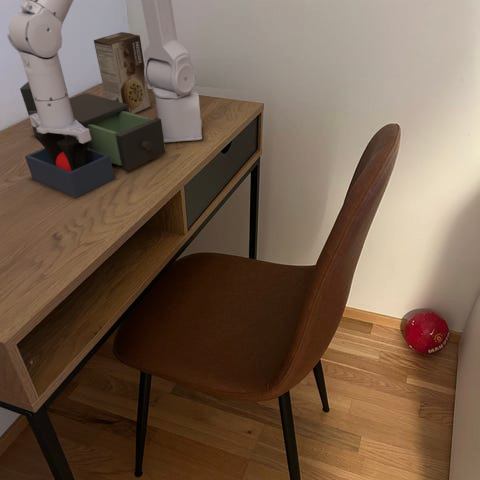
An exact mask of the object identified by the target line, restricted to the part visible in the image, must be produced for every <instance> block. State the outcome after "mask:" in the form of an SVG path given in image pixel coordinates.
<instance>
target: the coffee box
mask: <svg viewBox="0 0 480 480" xmlns="http://www.w3.org/2000/svg"><path fill="white" fill-rule="evenodd" d="M93 43H94V49H95V54H96V59H97V64H98V69H99V73H100V78H101V83H102V87H103V93H104V98H106V99H110V100H113V101H117V102H121V103H125V104H128V106H129V111H130V113H133V114H137V113H139V112H141V111H143V110H146V109H148V108H150V107H151V101H150V100H151V99H150V94H149V85H148V83H147V81H146V79H145V76H144V67H145V59H144V52H143V47H142V41H141V35H139V34H134V33H130V32H126V31H125V32H124V31H120V32H116V33H114V34H113V33H112V34H110V35H106V36H103V37H100V38H96V39H93Z"/></svg>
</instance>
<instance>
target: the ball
mask: <svg viewBox="0 0 480 480" xmlns="http://www.w3.org/2000/svg"><path fill="white" fill-rule="evenodd" d="M56 166H57V167H59V168H62V169H64V170H67V171H69V172H71V171H72V170H71V167H70V165H69V162H68V160H67V157H66V156H65V154H64V152H61V153H60V154H59V155H58V156H57V159H56Z"/></svg>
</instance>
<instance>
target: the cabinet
mask: <svg viewBox="0 0 480 480" xmlns="http://www.w3.org/2000/svg"><path fill="white" fill-rule="evenodd" d="M69 100H70V104H71V108H72V112H73V116H74V119H76V120H77V121H78V122H79V123H80V124H81V125H82V126H83V127H85V128H87V127H86V124H88V123H91V122H94V121H96V120H99V119H101V118H104V117H106V116H109V115H112V114H114V113H117V112H119V111H126V112H129V113H130V111H129V106H128V104H125V103H121V102H117V101H113V100H110V99H106V98H105V97H102V96H98V95H95V94H92V93H87V92H85V93H82V94H79V95H76V96H73V97H69ZM65 139H67V138H66V136H65ZM87 148H89V149H92V148H91V144H90V141H89V144H88V147H87Z"/></svg>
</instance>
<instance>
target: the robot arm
mask: <svg viewBox="0 0 480 480" xmlns="http://www.w3.org/2000/svg"><path fill="white" fill-rule="evenodd" d="M140 2H141V6H142V12H143V16H144V17H143V18H144V22H145V27H146V32H147V37H148V45H147V47H146V48H145V49H144V51H143V58H144V66H145V67H144V76H145V79H146V81H147V85H148V86H150V87H151V91H152V93H153V94H154V99H155V107H156V115H157V118H159V119H161V123H162V130H163V138H164V144H165V143H176V142H178V143H179V142H188V141H189V142H191V141H192V142H193V141H201V140H203V135H202V134H203V133H202V128H203V119H202V118H201V107H200V98H199V97H200V95H199V92H198V91H193V89H194V87H195V84H196V70H195V67H194V66H193V64H192V62H191V58H190V53H189V52H188V50H187V49H186V48H185V47H184V46H183V45H182V43H181V42H180V41H179V40H178V36H177V30H176V29H177V28H176V24H175V19H174V18H175V17H174V9H173V4H172V0H140ZM73 3H74V0H22V1H21V4H20V8H21V11H19V12H17V13H15V14H14V15H13V16H12V17H11V18H10V21H9V24H8V29H9V31H8V34H7V35H6V36H7V39H8V42H9V43H10V45H11V46H12V48H14V49H15V50H16V51H17V52H18V54H19V56H20V59H21V61H22V65H23V68H24V72H25V75H26V78H27V82H29V85H30V88H31V92H32V95H33V98H34V102H35V105H36V109H37V112H38V113H35V114H33V115H30V116H29V115H28V118H29V117H30V118H29V121H30V124H31V127H32V126H33V127H37V128H36V129H37V132H38V133H36V134H34V138H35V139H36V140H37V141H38V142H39V143H40V144H41V145H42V146H43V149H44V148H45V149H46V151H47V152H48V154H49V155H50V157H51V159H52V160H53V162H54V164H55V166H56V159H57V156H58V155H59V154H60V153H61V152H64V154H65V156H66V157H67V160H68V162H69V165H70V167H71V170H72V171H73V170H75V169H78V168H80V167H82V166H84V165H85V163H86V151H87V147H88V144H89V141H90V140H91V136H90V131H89V129H87V128H85V127H83V126H82V125H81V124H80V123H79V122H78V121H77V120H76V119H74V116H73V112H72V108H71V104H70V100H69V99H70V96H69V92H68V89H67V88H68V87H67V84H66V82H65V76H64V73H63V69H62V65H61V61H60V57H59V51H60V49H61V48H62V45H63V35H62V29H63V24H64V22H65V20H66V17H67V15H68V14H69V11H70V9H71V6H72V4H73ZM38 126H39V127H38ZM65 136H66V138H67V139H65Z"/></svg>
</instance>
